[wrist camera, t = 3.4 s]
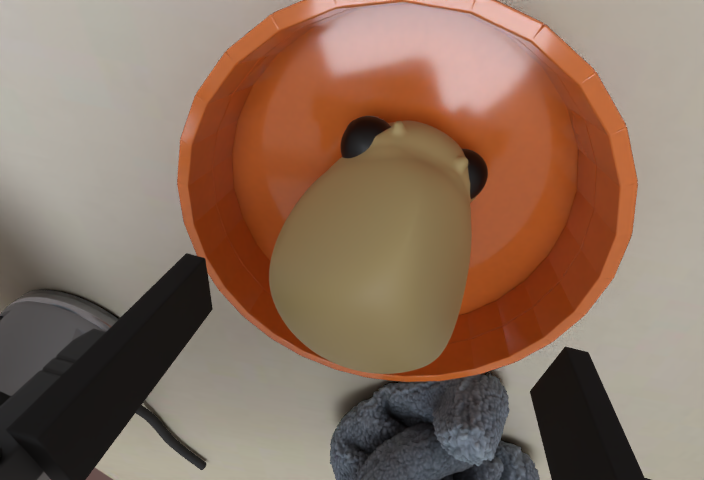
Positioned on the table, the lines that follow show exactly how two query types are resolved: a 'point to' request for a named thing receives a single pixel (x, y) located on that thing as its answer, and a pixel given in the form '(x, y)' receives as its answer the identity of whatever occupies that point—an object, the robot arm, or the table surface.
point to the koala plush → (430, 434)
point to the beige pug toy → (380, 248)
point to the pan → (434, 110)
